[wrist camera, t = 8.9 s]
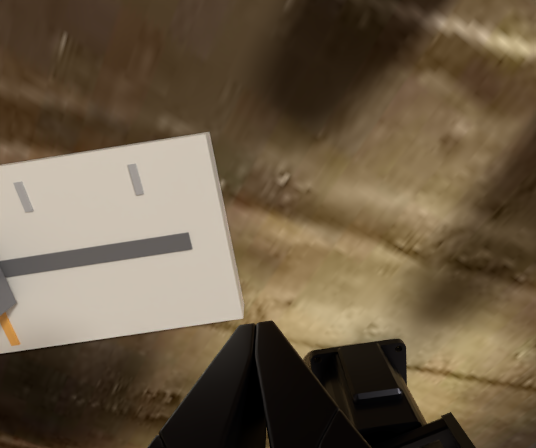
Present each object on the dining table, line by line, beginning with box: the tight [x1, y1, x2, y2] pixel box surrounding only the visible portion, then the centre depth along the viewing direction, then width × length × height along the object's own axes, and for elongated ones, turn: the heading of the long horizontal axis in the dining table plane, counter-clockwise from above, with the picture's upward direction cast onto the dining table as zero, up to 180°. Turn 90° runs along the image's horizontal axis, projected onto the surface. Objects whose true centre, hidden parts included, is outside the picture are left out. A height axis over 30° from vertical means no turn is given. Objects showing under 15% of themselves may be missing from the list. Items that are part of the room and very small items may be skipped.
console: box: [0, 132, 244, 354], centre depth 19 cm, size 11×20×2 cm, turn 99°
